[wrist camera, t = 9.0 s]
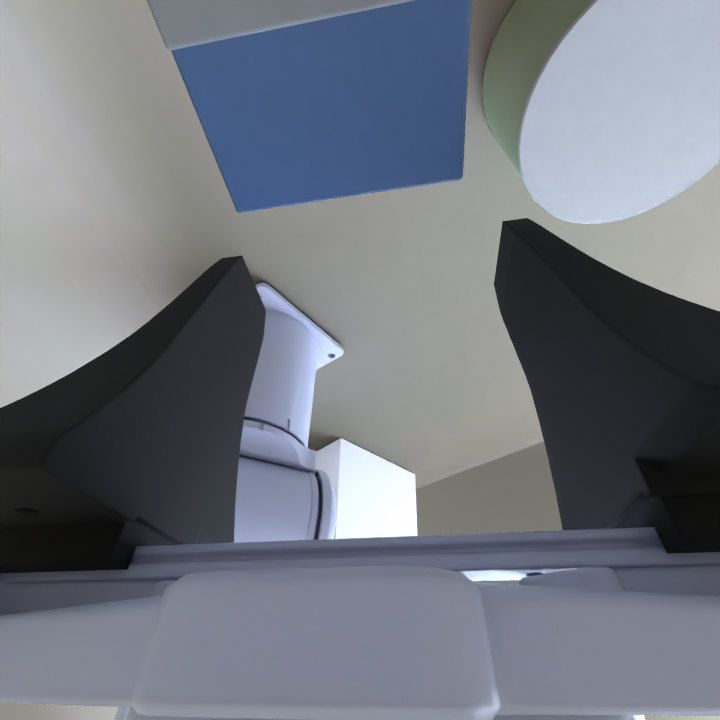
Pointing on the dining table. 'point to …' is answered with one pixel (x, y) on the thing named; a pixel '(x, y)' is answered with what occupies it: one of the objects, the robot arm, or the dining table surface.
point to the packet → (324, 92)
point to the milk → (368, 493)
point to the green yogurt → (606, 101)
